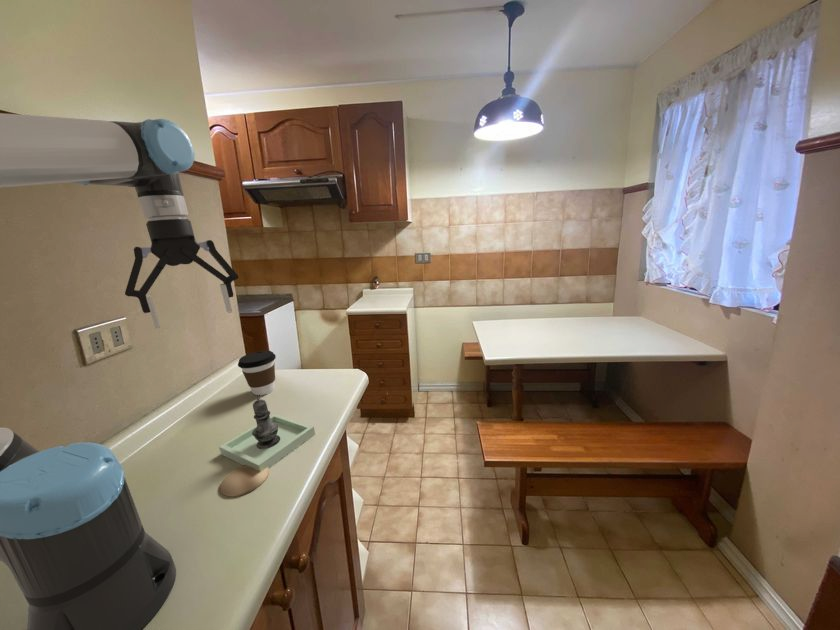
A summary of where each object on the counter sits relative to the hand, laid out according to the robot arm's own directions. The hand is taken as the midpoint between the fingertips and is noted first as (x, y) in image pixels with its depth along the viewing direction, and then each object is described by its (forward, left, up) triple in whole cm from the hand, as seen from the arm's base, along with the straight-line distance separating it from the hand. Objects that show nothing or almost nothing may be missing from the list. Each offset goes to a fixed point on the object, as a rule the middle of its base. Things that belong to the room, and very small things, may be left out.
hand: (195, 319), depth 75 cm
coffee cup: (+21, +17, -32) cm, 42 cm away
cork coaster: (-6, -16, -32) cm, 36 cm away
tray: (+4, -10, -32) cm, 33 cm away
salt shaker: (+4, -10, -31) cm, 33 cm away
